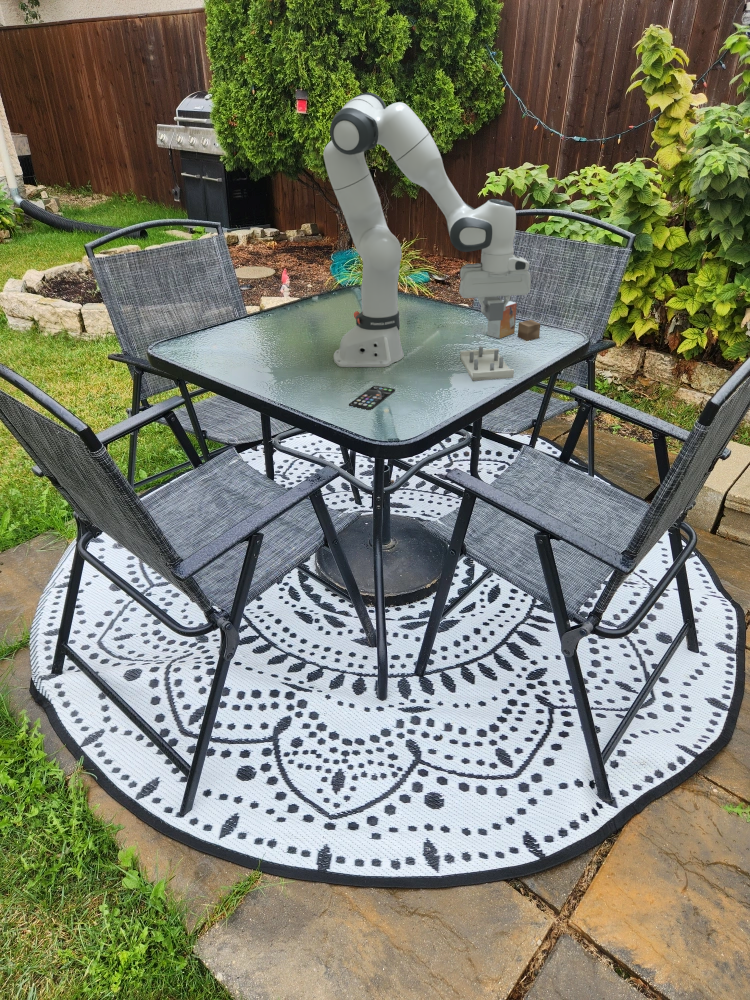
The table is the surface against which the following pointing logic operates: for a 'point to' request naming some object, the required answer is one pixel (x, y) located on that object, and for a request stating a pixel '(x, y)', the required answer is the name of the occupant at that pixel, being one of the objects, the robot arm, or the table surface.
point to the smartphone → (372, 397)
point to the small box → (504, 322)
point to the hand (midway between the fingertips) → (493, 311)
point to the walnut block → (528, 330)
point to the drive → (493, 308)
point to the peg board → (485, 364)
